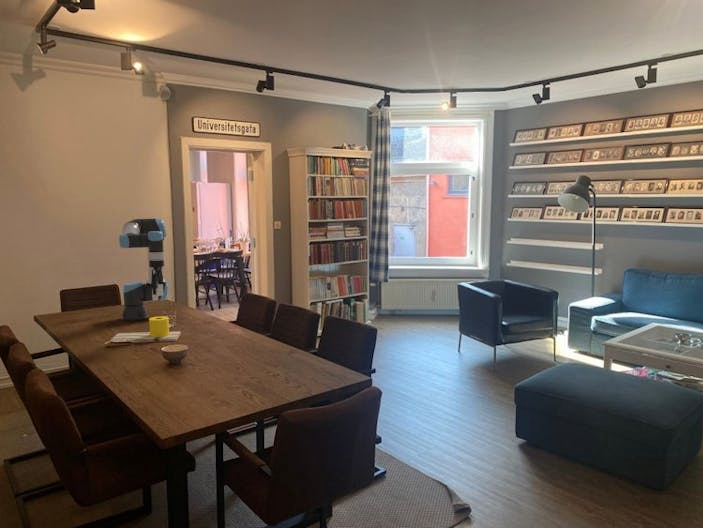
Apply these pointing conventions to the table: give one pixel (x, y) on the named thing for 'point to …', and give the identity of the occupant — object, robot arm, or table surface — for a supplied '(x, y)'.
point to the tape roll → (159, 326)
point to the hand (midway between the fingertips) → (158, 298)
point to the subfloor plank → (145, 337)
